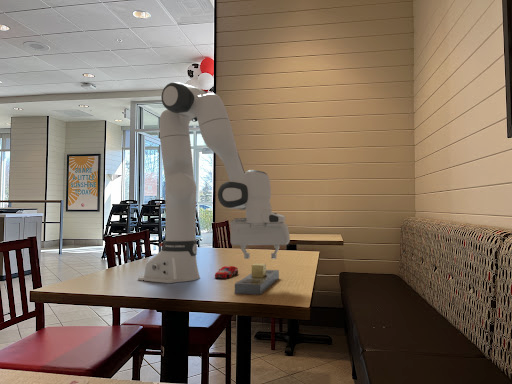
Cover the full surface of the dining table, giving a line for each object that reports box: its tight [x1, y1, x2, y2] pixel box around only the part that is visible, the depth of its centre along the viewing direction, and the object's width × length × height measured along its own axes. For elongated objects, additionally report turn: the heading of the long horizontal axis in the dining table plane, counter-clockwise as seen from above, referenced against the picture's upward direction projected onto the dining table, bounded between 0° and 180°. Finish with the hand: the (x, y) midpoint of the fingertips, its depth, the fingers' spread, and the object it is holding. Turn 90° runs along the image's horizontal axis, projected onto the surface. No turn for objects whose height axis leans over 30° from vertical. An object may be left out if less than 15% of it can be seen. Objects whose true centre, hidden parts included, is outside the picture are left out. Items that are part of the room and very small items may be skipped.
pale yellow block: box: [251, 263, 267, 278], centre depth 127 cm, size 4×4×7 cm
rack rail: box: [234, 269, 280, 296], centre depth 127 cm, size 8×28×3 cm, turn 165°
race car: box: [214, 265, 239, 280], centre depth 144 cm, size 13×5×4 cm, turn 157°
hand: (260, 258), depth 127 cm, fingers open, 8 cm apart
